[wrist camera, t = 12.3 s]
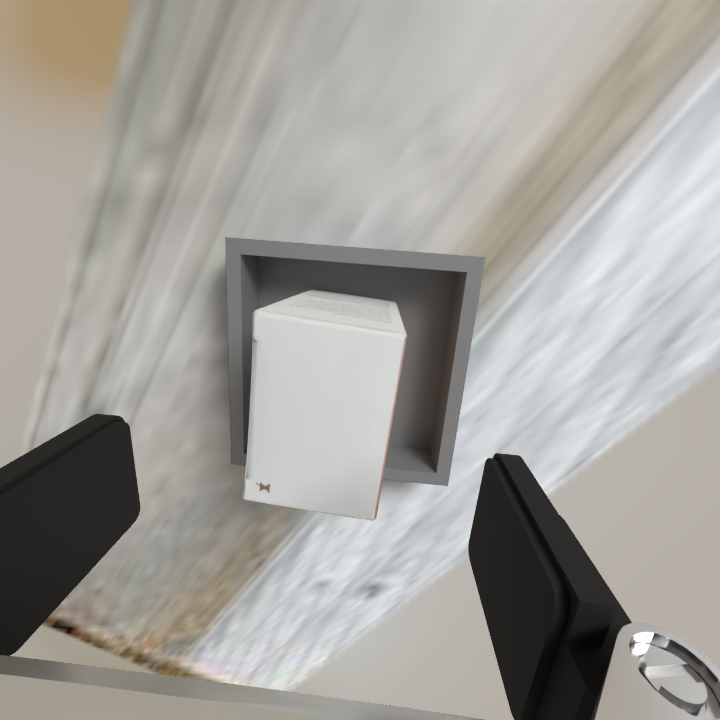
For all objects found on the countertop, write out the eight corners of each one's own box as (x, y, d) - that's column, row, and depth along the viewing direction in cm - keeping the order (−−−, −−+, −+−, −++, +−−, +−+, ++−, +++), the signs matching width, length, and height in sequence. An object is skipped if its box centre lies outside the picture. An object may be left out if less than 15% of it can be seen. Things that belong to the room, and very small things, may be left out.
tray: (249, 240, 22) (225, 237, 19) (469, 257, 22) (485, 257, 19) (251, 437, 26) (231, 463, 23) (439, 456, 26) (447, 485, 22)
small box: (379, 416, 25) (376, 528, 14) (298, 404, 25) (239, 506, 15) (399, 299, 22) (412, 333, 12) (309, 286, 22) (249, 309, 12)
